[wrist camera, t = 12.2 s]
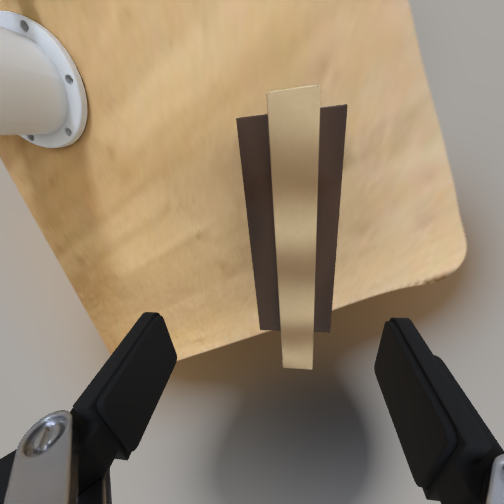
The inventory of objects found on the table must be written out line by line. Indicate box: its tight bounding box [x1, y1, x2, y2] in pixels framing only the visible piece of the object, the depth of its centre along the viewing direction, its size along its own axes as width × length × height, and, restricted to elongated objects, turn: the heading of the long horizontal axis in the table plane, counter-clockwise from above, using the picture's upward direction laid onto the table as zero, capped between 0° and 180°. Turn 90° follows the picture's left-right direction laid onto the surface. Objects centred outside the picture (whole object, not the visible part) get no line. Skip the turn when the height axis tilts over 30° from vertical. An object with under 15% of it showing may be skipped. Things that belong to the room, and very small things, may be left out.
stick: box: [267, 84, 321, 369], centre depth 20 cm, size 24×3×4 cm, turn 6°
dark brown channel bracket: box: [236, 104, 347, 333], centre depth 26 cm, size 8×22×9 cm, turn 6°
